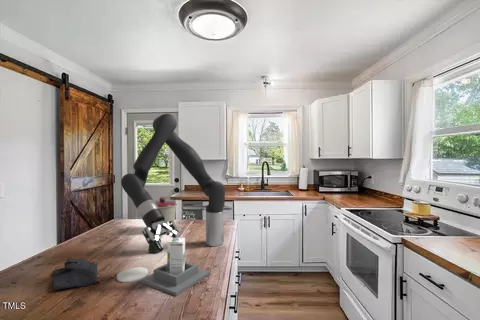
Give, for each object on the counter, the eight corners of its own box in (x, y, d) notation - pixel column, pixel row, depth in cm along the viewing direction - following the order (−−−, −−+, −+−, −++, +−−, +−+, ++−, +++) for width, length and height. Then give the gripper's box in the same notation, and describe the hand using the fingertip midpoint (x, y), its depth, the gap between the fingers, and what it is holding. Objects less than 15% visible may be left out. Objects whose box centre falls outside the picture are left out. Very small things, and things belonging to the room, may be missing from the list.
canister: (155, 226, 168) (155, 195, 168) (181, 227, 165) (181, 195, 165) (141, 234, 150) (141, 199, 150) (170, 235, 147) (170, 200, 147)
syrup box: (169, 275, 97) (169, 237, 97) (185, 274, 97) (185, 237, 97) (166, 282, 91) (166, 242, 91) (183, 281, 91) (183, 242, 91)
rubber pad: (135, 267, 104) (135, 265, 104) (154, 273, 98) (154, 271, 98) (110, 278, 94) (110, 275, 94) (129, 285, 89) (129, 283, 89)
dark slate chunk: (44, 297, 82) (44, 282, 82) (54, 271, 101) (54, 259, 101) (98, 285, 90) (98, 272, 90) (97, 263, 109) (97, 252, 109)
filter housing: (176, 264, 106) (176, 255, 106) (210, 274, 97) (210, 264, 97) (140, 282, 91) (140, 271, 91) (176, 295, 82) (176, 283, 82)
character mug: (166, 247, 127) (166, 222, 127) (167, 252, 120) (167, 225, 120) (143, 250, 123) (143, 224, 123) (143, 255, 116) (143, 227, 116)
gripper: (140, 210, 94) (161, 246, 88) (168, 205, 106) (189, 236, 100) (131, 223, 96) (151, 258, 91) (160, 216, 109) (179, 247, 103)
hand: (170, 246), depth 95 cm, fingers open, 8 cm apart
